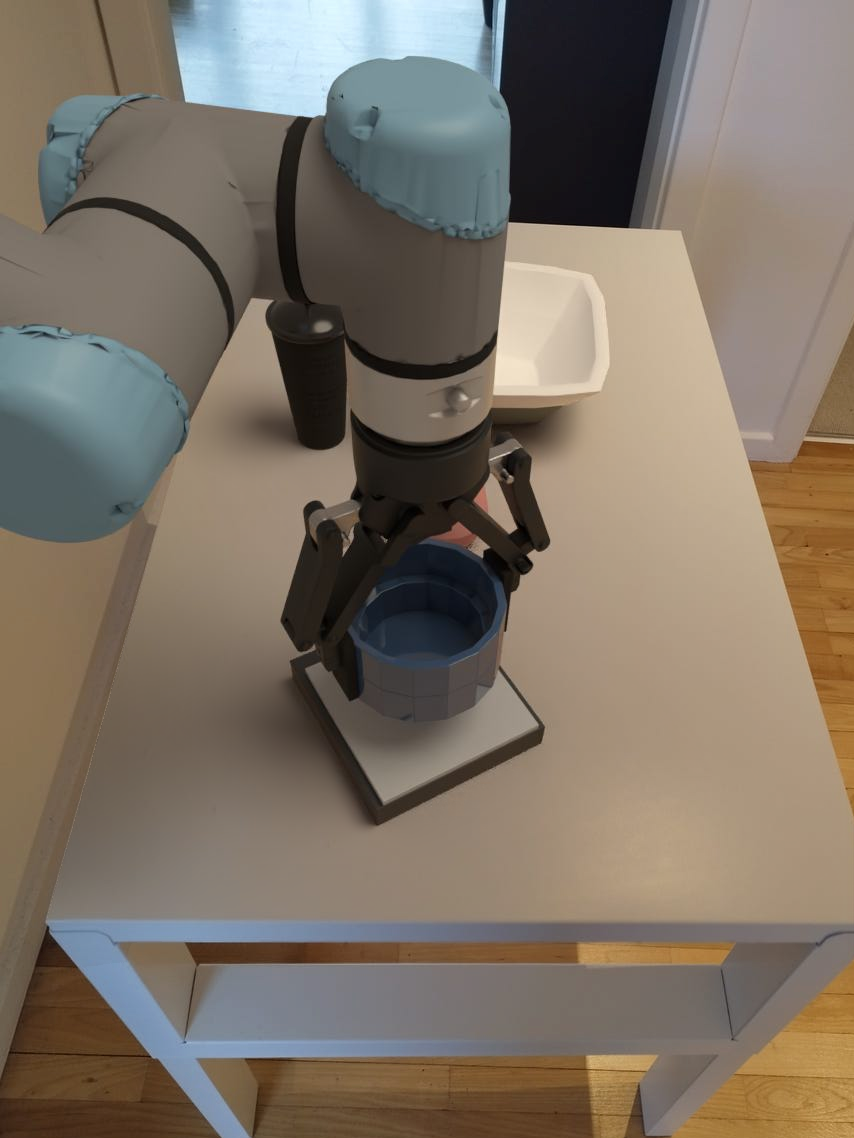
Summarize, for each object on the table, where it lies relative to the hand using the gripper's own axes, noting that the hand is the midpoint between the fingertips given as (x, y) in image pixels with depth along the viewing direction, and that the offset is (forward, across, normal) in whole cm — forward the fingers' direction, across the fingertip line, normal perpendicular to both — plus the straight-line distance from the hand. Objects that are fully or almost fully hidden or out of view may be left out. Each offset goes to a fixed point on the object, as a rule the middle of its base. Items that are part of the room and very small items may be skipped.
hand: (421, 652), depth 65 cm
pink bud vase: (+9, +11, +16) cm, 22 cm away
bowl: (+9, +26, +32) cm, 43 cm away
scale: (+9, 0, +1) cm, 9 cm away
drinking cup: (+9, +7, +34) cm, 36 cm away
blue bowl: (+1, 0, 0) cm, 1 cm away
